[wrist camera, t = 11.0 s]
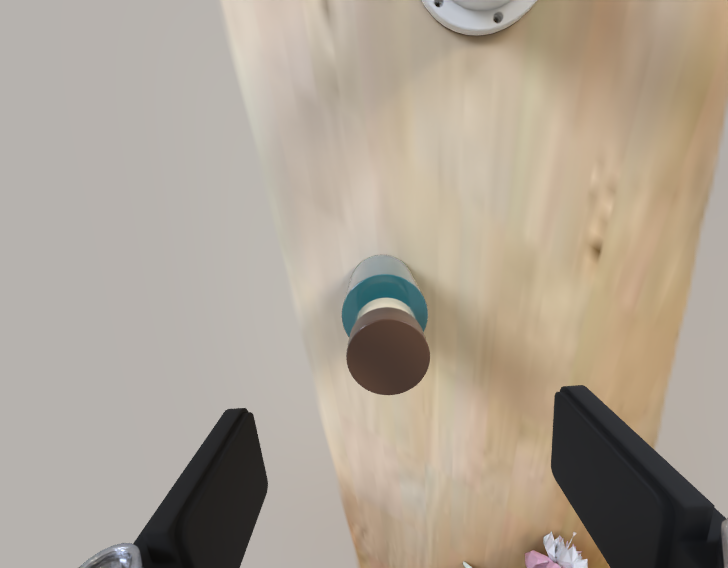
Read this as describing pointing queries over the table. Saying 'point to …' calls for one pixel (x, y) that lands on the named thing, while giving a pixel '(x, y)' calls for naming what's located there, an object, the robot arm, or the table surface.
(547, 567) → the flower
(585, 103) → the table surface
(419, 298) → the bottle
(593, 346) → the table surface
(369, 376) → the brown round puck
